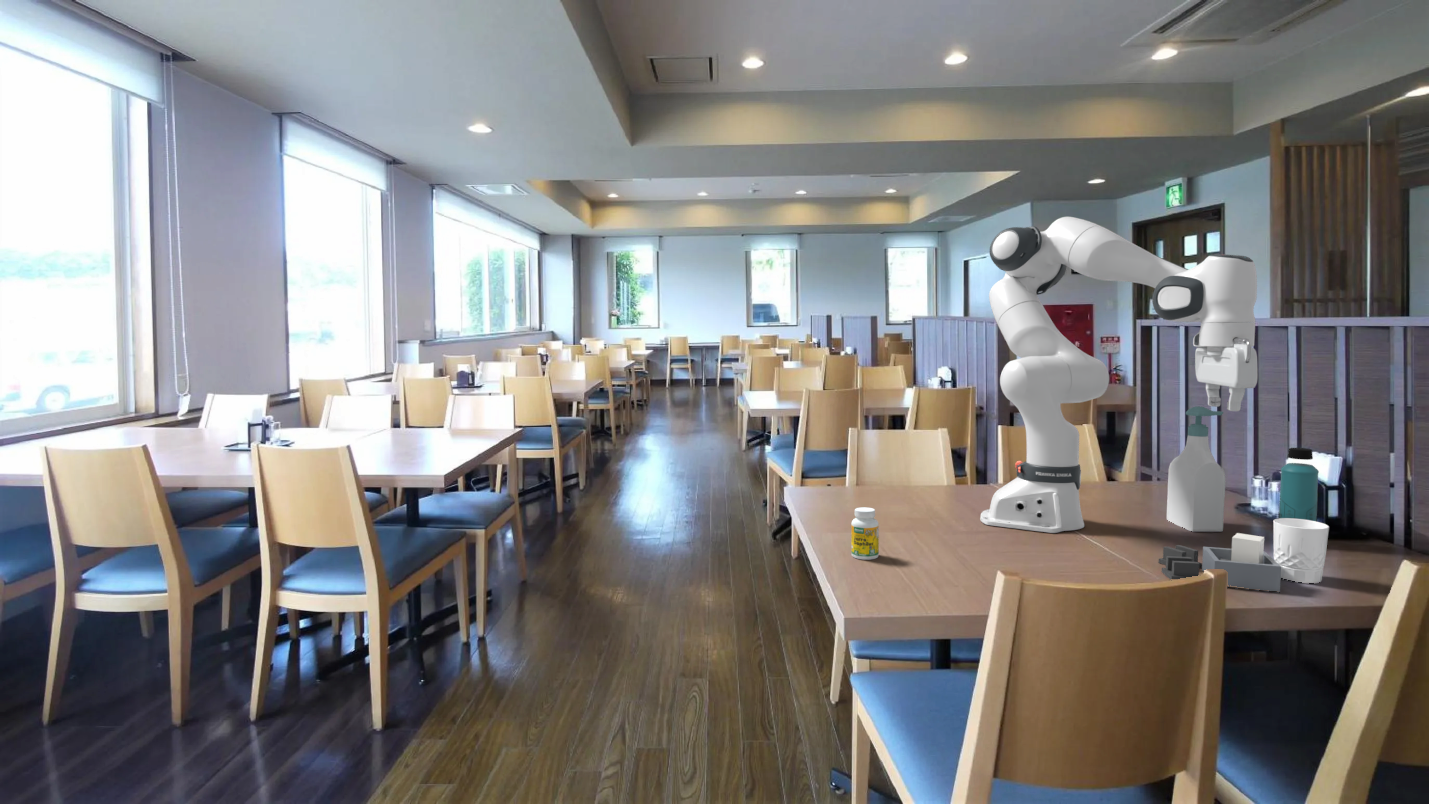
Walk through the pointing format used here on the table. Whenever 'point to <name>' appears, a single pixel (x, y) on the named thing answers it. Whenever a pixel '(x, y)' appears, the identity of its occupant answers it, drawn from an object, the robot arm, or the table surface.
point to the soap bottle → (1196, 481)
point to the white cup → (1300, 548)
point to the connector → (1247, 548)
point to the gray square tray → (1244, 569)
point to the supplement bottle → (865, 534)
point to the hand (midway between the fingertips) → (1223, 408)
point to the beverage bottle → (1299, 487)
